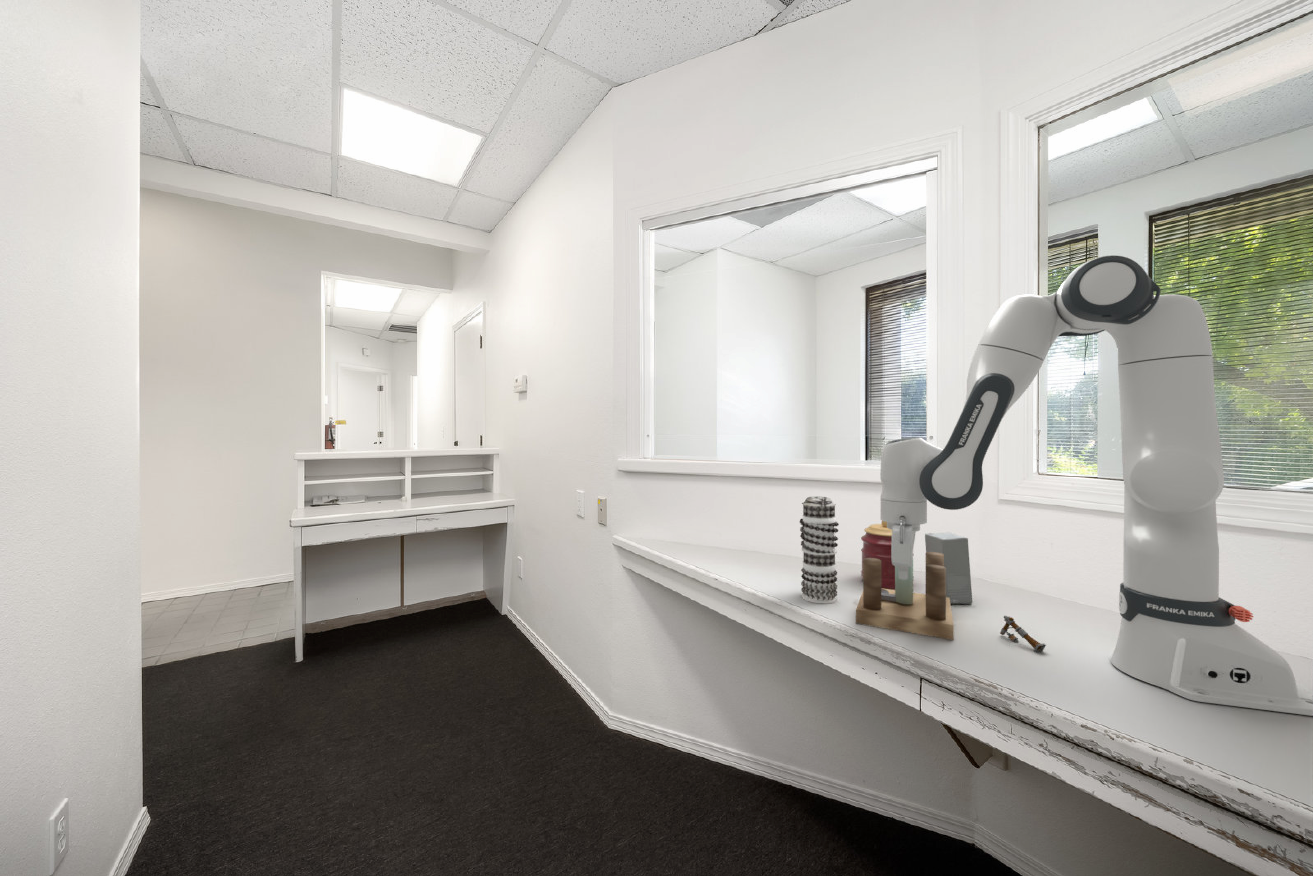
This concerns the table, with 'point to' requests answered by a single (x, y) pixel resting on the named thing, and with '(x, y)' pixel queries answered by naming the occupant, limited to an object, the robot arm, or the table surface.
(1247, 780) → the table surface
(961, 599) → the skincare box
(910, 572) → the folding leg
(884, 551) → the canister
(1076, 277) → the robot arm
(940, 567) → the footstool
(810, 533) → the decorative candle
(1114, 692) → the table surface
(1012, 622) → the wooden post with brackets
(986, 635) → the table surface
